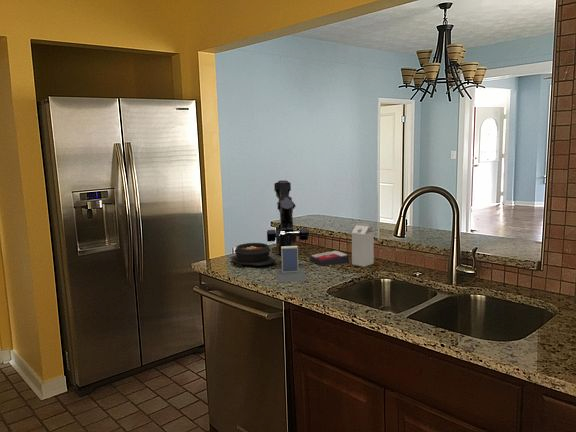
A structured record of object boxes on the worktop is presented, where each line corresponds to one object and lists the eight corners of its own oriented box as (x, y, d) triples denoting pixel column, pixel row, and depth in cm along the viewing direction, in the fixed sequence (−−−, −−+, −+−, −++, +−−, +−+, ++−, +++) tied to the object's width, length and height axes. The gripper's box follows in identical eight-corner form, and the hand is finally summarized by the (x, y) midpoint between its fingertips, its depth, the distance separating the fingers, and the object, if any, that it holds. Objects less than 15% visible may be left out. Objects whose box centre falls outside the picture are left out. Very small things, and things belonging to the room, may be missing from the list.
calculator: (309, 254, 227) (336, 249, 233) (309, 263, 227) (336, 257, 234) (321, 259, 217) (348, 253, 223) (321, 268, 218) (349, 262, 224)
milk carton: (361, 261, 225) (361, 221, 222) (373, 264, 219) (373, 223, 217) (351, 264, 220) (351, 223, 217) (364, 267, 215) (364, 225, 212)
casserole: (285, 263, 224) (284, 246, 223) (254, 272, 212) (253, 253, 210) (251, 255, 242) (251, 239, 241) (221, 262, 230) (220, 245, 228)
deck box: (281, 271, 210) (281, 246, 208) (297, 270, 211) (297, 245, 209) (282, 272, 208) (281, 247, 206) (298, 271, 208) (297, 247, 206)
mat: (275, 269, 214) (275, 269, 214) (302, 268, 214) (302, 267, 214) (277, 282, 194) (277, 281, 194) (307, 281, 195) (307, 280, 195)
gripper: (305, 231, 228) (308, 259, 219) (266, 232, 227) (267, 261, 218) (307, 217, 219) (310, 246, 210) (266, 218, 218) (267, 247, 209)
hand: (288, 250), depth 212 cm, fingers closed
